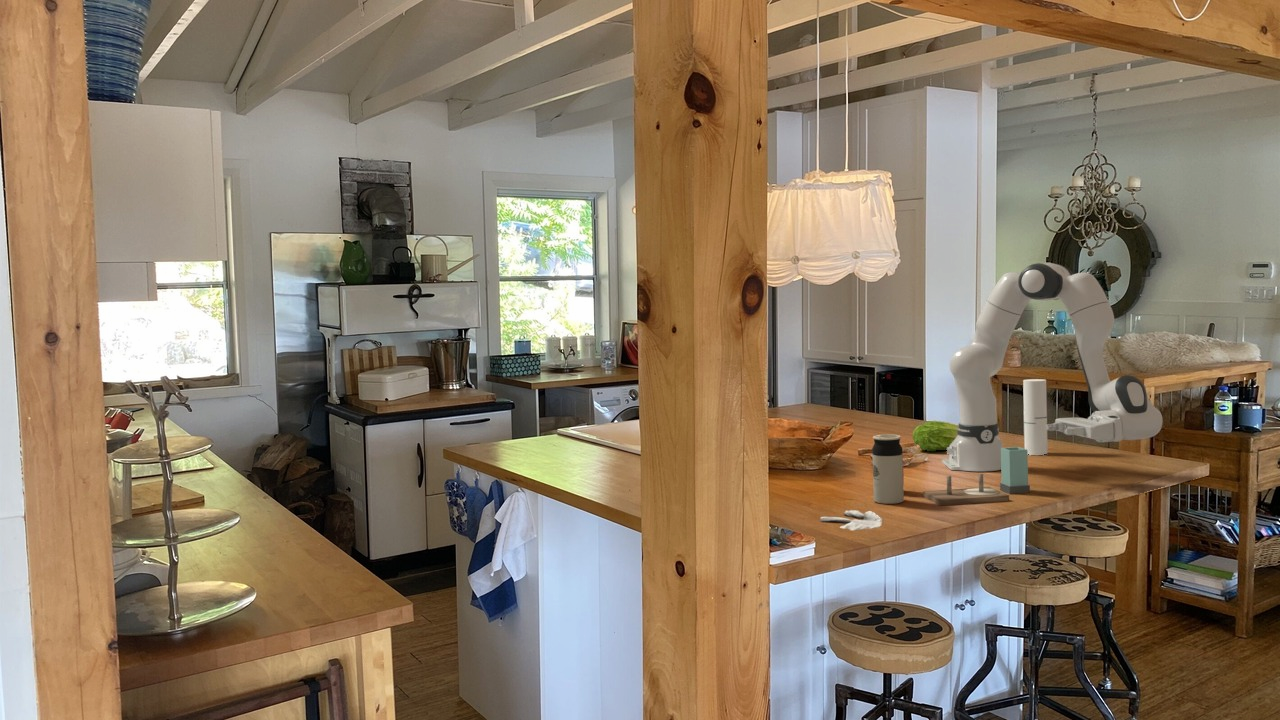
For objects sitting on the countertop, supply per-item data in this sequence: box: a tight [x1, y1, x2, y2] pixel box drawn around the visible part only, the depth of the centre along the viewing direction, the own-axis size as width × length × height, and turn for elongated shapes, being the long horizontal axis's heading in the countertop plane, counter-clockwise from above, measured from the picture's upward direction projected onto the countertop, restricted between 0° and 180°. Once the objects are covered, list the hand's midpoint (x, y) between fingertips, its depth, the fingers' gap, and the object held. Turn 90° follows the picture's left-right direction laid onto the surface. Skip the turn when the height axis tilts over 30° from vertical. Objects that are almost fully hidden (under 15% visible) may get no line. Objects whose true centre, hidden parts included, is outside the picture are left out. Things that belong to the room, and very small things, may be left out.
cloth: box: [819, 509, 884, 531], centre depth 252 cm, size 20×22×2 cm
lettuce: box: [912, 420, 959, 452], centre depth 349 cm, size 12×24×13 cm
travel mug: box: [871, 434, 905, 505], centre depth 270 cm, size 8×8×18 cm
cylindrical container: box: [1022, 378, 1049, 456], centre depth 332 cm, size 7×7×25 cm
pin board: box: [923, 473, 1010, 506], centre depth 269 cm, size 12×19×6 cm, turn 95°
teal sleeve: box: [999, 446, 1031, 495], centre depth 276 cm, size 6×6×12 cm
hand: (1056, 429), depth 276 cm, fingers open, 8 cm apart
